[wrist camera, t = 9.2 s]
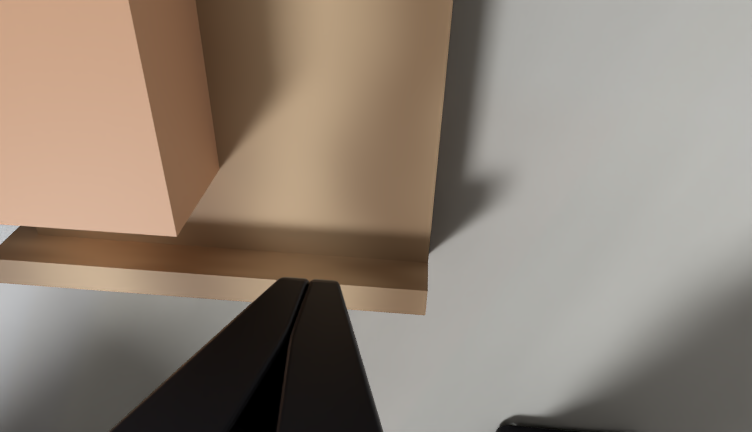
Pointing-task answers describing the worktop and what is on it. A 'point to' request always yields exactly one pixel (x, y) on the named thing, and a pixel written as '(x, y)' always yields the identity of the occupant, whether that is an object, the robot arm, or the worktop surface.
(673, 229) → the worktop surface
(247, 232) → the square wooden tray
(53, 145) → the block
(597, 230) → the worktop surface
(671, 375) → the worktop surface
